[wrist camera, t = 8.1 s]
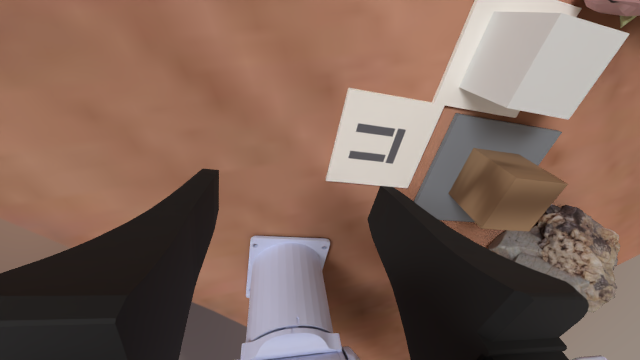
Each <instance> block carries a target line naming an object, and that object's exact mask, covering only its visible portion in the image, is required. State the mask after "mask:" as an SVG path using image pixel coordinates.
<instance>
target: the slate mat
mask: <svg viewBox="0 0 640 360" xmlns="http://www.w3.org/2000/svg"><path fill="white" fill-rule="evenodd" d="M561 133H562V132H560V131H557V130H552V129H546V128H540V127H534V126H528V125H522V124H517V123H511V122H505V121H499V120H493V119H487V118H482V117H476V116H470V115H464V114H458V113H456V114H455V116H454V118H453V120H452V122H451V124H450V126H449V128H448V131H447V133H446V135H445V137H444V139H443V141H442V143H441V145H440V147H439V149H438V151H437V154H436V156H435V158H434V160H433V162H432V164H431V166H430V168H429V170H428V172H427V175H426V177H425V179H424V181H423V183H422V185H421V187H420V189H419V191H418V193H417V196H416V198H415V200H414V202H415V203H416V204H417V205H419V206H420V207H421V208H423V209H424V210H425V211H427V212H428V213H430V214H431V215H432V216H434V217H435V218H437V219H438V220H449V221H465V222H475V221H474V220H473V219H472V218H471V217H470V216H469V215H468V214H467V213H466V212H465V211H464V210H463V209H462V208H461V206H460V205H459V204H458V203H457V202H456V201H455V200H454V199H453V198H452V197H451V196H450V195H449V194H448V193H449V191H450V190H451V188H452V186H453V184H454V182H455V181H456V179H457V177H458V175H459V173H460V171H461V170H462V168H463V166H464V164H465V162H466V161H467V159H468V157H469V155H470V153H471V151H472V150H473V148H478V149H485V150H492V151H499V152H506V153H514V154H519V155H521V156H522V157H524V158H526V159H527V160H529V161H531V162H532V163H534V164H536V165H537V166H538V165H539V164H540V162H541V161H542V159H543V158H544V157H545V155H546V154H547V152H548V151H549V150H550V148H551V147H552V145H553V144H554V143H555V141H556V140H557V138H558V137H559V136H560V134H561Z"/></svg>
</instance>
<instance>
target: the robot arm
mask: <svg viewBox="0 0 640 360" xmlns="http://www.w3.org/2000/svg"><path fill="white" fill-rule="evenodd" d="M218 210H219V170H211V169H202V170H200V171H199V172H198V173H197V174H196V175H194V176H193V177H192V178H191V179H190V180H188V181H187V182H186V183H185V184H184V185H182V186H181V187H180V188H179V189H177V190H176V191H175V192H173V193H172V194H171V195H170V196H168V197H167V198H165V199H164V200H163V201H161V202H160V203H158V204H157V205H155V206H154V207H153V208H151V209H149V210H148V211H146V212H145V213H143V214H141V215H139V216H138V217H136V218H134V219H132V220H131V221H129V222H127V223H125V224H123V225H121V226H119V227H117V228H115V229H113V230H111V231H109V232H107V233H105V234H103V235H101V236H98V237H96V238H94V239H92V240H90V241H87V242H85V243H83V244H80V245H78V246H76V247H73V248H71V249H68V250H66V251H63V252H61V253H58V254H55V255H53V256H50V257H47V258H44V259H42V260H39V261H36V262H33V263H30V264H27V265H24V266H21V267H18V268H15V269H12V270H9V271H6V272H3V273H1V274H0V360H178V359H179V355H180V350H181V345H182V340H183V336H184V332H185V327H186V323H187V318H188V314H189V310H190V305H191V301H192V297H193V293H194V289H195V285H196V282H197V278H198V275H199V273H200V270H201V267H202V264H203V261H204V258H205V255H206V253H207V250H208V247H209V244H210V241H211V238H212V235H213V232H214V229H215V224H216V220H217V215H218ZM368 223H369V227H370V231H371V235H372V238H373V241H374V243H375V246H376V248H377V251H378V253H379V256H380V258H381V261H382V263H383V265H384V268H385V270H386V273H387V275H388V277H389V280H390V283H391V285H392V288H393V291H394V295H395V298H396V302H397V305H398V308H399V312H400V316H401V320H402V324H403V328H404V332H405V336H406V340H407V345H408V349H409V354H410V359H411V360H569V359H568V358H567V357H566V356H565V354H564V353H563V352H562V351H565V350H566V349H567V347H566V345H565V344H564V343H563V341H562V340H561V339H560V338H559V337H560V336H561V335H562V334H564V333H565V332H566V331H567V330H568V329H570V328H571V327H572V326H574V324H576V323H577V322H578V321H580V320H581V319H582V318H583V317H584V315H585V314H586V313H587V311H588V308H589V303H588V300H587V299H586V298H585V297H584V296H583V295H582V294H580V293H579V292H578V291H577V290H576V289H575V288H574V287H573V286H572V285H570V284H569V283H567V282H566V281H563V280H561V279H558V278H555V277H552V276H550V275H547V274H544V273H542V272H539V271H536V270H533V269H531V268H528V267H526V266H524V265H521V264H519V263H517V262H514V261H512V260H510V259H507V258H505V257H503V256H501V255H499V254H497V253H495V252H493V251H491V250H489V249H487V248H485V247H483V246H481V245H479V244H477V243H475V242H473V241H472V240H470V239H468V238H466V237H465V236H463V235H461V234H460V233H458V232H456V231H455V230H453V229H451V228H450V227H448V226H447V225H445V224H444V223H442V222H441V221H440V220H438V219H437V218H435V217H434V216H432V215H431V214H430V213H428V212H427V211H425V210H424V209H423V208H421V207H420V206H419V205H417V204H416V203H415V202H413V201H412V200H411V199H409V198H408V197H407V196H405V195H404V194H403V193H401V192H400V191H398V190H397V189H395V188H393V187H388V186H380V188H379V191H378V194H377V196H376V199H375V201H374V204H373V206H372V209H371V212H370V214H369V217H368ZM255 244H257V245H255ZM323 246H325V247H323ZM329 246H330V241H329V239H325V238H300V237H275V236H253V237H252V238H251V241H250V253H249V265H248V276H247V288H246V297H247V298H250V300H249V312H248V324H247V336H246V343H243V344H242V349H241V360H360V359H359V357H358V356H357V355H356V354H355V353H354V352H353V350H352V349H351V348H350V347H348V346H345V347H342V346H341V341H340V336H339V333H333V328H332V323H331V317H330V312H329V306H328V301H327V295H326V290H325V284H324V279H323V273H322V269H323V266H324V263H325V260H326V256H327V253H328V250H329ZM233 360H240V359H233ZM572 360H607V359H606V358H605V357H604V356H589V357H579V358H575V359H572Z"/></svg>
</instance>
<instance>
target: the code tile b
mask: <svg viewBox="0 0 640 360" xmlns="http://www.w3.org/2000/svg"><path fill="white" fill-rule="evenodd" d="M581 9H582V8H579V7H576V6H573V5H570V4H567V3H564V2H561V1H557V0H475V1H474V3H473V5H472V8H471V10H470V13H469V15H468V17H467V20H466V22H465V24H464V27H463V29H462V32H461V34H460V36H459V39H458V41H457V44H456V46H455V48H454V51H453V53H452V55H451V58H450V60H449V63H448V65H447V67H446V70H445V72H444V75H443V77H442V79H441V82H440V84H439V86H438V89H437V91H436V94H435V96H434V98H433V101H432V103H434V104H439V105H445V106H451V107H456V108H462V109H467V110H473V111H479V112H484V113H490V114H496V115H501V116H507V117H513V118H516V117H517V115H518V113H519V112H520V110H515V109H509V108H506V107H503V106H501V105H499V104H496V103H494V102H492V101H489V100H487V99H485V98H482V97H480V96H478V95H476V94H473V93H471V92H469V91H466V90H464V89H462V88H459V86H460V84H461V82H462V80H463V78H464V76H465V73H466V71H467V69H468V67H469V65H470V63H471V60H472V58H473V56H474V54H475V52H476V49H477V47H478V45H479V43H480V41H481V39H482V36H483V34H484V32H485V30H486V28H487V26H488V23H489V21H490V19H491V17H492V15H493V12H544V13H563V14H567V15H570V16H573V17H577V15H578V14H579V12H580V10H581Z"/></svg>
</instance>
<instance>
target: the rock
mask: <svg viewBox="0 0 640 360" xmlns="http://www.w3.org/2000/svg"><path fill="white" fill-rule="evenodd" d="M545 213H546V214H545V215H543V216H542V217H541V218H540V219H539V220H538V226H535V227H533V228H532V229H531V230H530V231H512V230H506V231H505V232H503V233H501V234H500V235H499V236H497V237H496V238H495V239H494V240H493V242H492V243H491V244H490V245H489V247H488V249H489V250H491V251H493V252H495V253H497V254H499V255H501V256H503V257H505V258H507V259H510V260H512V261H514V262H517V263H519V264H521V265H524V266H526V267H528V268H531V269H533V270H536V271H539V272H542V273H544V274H547V275H550V276H552V277H555V278H558V279H561V280H563V281H566V282H567V283H569V284H570V285H572V286H573V287H574V288H575V289H576V290H577V291H578V292H579V293H580V294H582V295H583V296H584V297H585V298H586V299H587V300H588V303H589V308H588V312H595V311H596V310H597V309H599V308H600V307H601V306H602V305H603V304H605V303H607V302H609V301H610V300H611V299H614V298H615V291H616V289H617V286H616V284H615V278H614V275H613V270H614V266H617V262H618V259H617V255H618V252H619V249H620V244H619V243H618V240H619V235H617V234H616V233H615V232H614V231H612V230H610V229H606V228H604V227H603V226H601V225H600V224H599V223H597V222H596V221H594V220H593V219H592V218H591V216H588V215H586V214H585V213H584V212H583V211H582V210H580V209H579V208H576V207H571V206H568V205H565V206H562V207H561V208H559V207H558V206H555V205H552V204H551V205H550V207H549V208H548V209H547V210H546V211H545Z"/></svg>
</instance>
